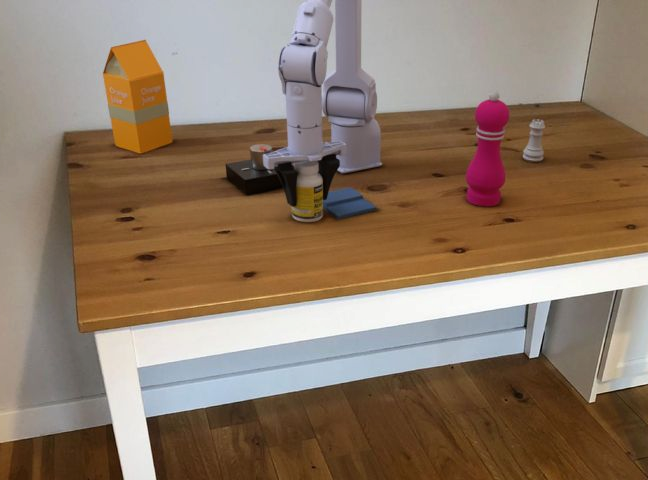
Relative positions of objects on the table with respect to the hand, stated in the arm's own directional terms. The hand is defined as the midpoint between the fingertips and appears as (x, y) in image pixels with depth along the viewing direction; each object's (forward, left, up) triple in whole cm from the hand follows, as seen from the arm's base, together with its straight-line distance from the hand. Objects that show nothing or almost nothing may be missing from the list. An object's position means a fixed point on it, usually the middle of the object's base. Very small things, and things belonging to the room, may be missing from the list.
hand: (307, 201), depth 132 cm
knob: (0, -18, 0) cm, 18 cm away
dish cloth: (-8, -1, -3) cm, 9 cm away
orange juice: (+13, -48, -3) cm, 50 cm away
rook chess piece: (-55, -3, -3) cm, 55 cm away
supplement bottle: (0, 0, -3) cm, 3 cm away
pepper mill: (-32, +9, -3) cm, 33 cm away
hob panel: (0, -18, -3) cm, 18 cm away
